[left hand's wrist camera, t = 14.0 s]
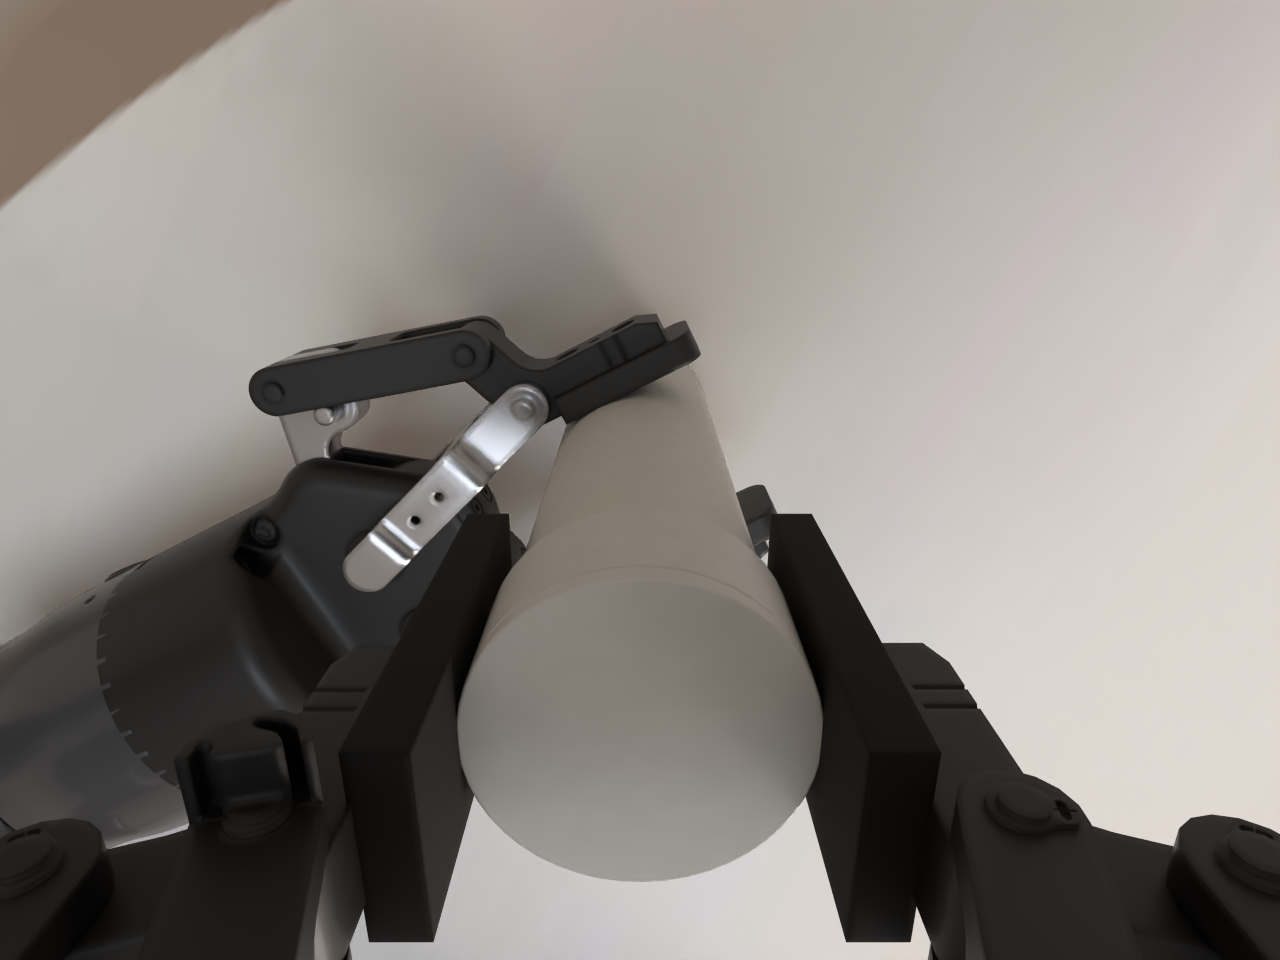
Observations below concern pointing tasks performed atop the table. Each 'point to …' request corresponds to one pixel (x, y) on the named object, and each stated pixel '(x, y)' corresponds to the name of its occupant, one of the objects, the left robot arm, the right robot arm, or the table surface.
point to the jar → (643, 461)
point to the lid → (640, 700)
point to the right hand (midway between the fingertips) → (731, 424)
